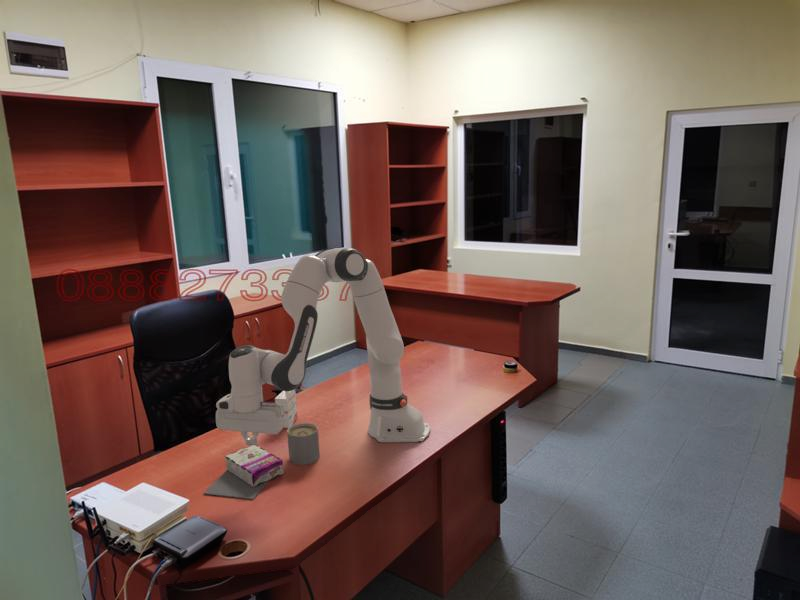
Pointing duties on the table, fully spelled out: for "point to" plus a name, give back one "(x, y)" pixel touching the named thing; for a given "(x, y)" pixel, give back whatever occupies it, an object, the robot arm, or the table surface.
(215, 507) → the table surface
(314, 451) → the coffee mug
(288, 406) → the ink cartridge box
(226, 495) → the mat
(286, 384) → the robot arm
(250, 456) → the candy bar box
